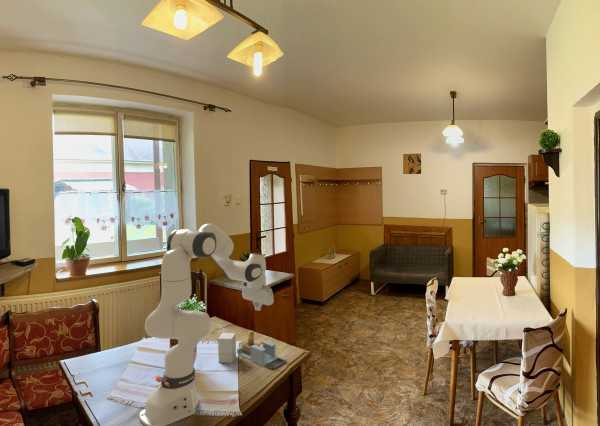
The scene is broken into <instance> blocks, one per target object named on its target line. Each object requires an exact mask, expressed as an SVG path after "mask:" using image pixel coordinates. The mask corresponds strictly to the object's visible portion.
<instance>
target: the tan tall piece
mask: <svg viewBox="0 0 600 426" xmlns="http://www.w3.org/2000/svg"><path fill="white" fill-rule="evenodd" d="M260 344H261V343H260ZM260 344H259V343H256V342H255V331H254V330H248V332H247V342H245V343H243V344H242V346H241V347H242V351H243V352H244V353H246V354H248V355H250V356H251V346H252V345H257V346H260V347H261V345H260Z"/></svg>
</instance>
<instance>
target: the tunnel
mask: <svg viewBox="0 0 600 426" xmlns="http://www.w3.org/2000/svg"><path fill="white" fill-rule="evenodd" d="M260 344H262V346H261V345H260V346H257V345H252V346H251V356H250V355H248V354H246V353H244V352H243V351H242V346H241V347H239V348H236V354H237V355H238V356H241V357H242V358H244V359H247V360H249V361H252V362H254V363H256V364H258V365H261V366H263V367H265V368H267V369H268V370H271V371H274V370H276V369H277V368H279V367H280V366H283V365H284V364H286V363H287V360H285V359H283V358H281V357H279V356H276V355H277V354H276V352H277V350H276V347H277V346H276V343H274V342H271V341H268V340H266V339H263V340H261V341H260Z"/></svg>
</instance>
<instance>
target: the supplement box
mask: <svg viewBox="0 0 600 426" xmlns="http://www.w3.org/2000/svg"><path fill="white" fill-rule="evenodd" d="M236 339H237V338H236V333H234V332H231V333H230V332H221V334H220V335H219V337H218V338H217V346H218V347H217V348H218V349H217V351H218V352H217V353H218V363H224V364H225V363H226V364H233V363H234V362H235V360H236V357H237V348H236V347H237V344H236Z"/></svg>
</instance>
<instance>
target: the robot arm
mask: <svg viewBox="0 0 600 426" xmlns="http://www.w3.org/2000/svg"><path fill="white" fill-rule="evenodd" d="M234 247H235V246H234V242H233V240H232V239H231V237H230V236H229V235H228V234H227V233H226V232H225V231H223V230H222V228H220V227H218V226H217V225H215V224H213V223H210V222H209V223H205V224H203V225H201V226H200V228H198V230H196V229H189V228H186V229H184V228H179V229H175V230H174V229H173V231H171V232H170V234H169V235H168V237H167V240H166V250H167V251H166V252H165V253H164V254H163V256H162V260H161V269H160V271H161V273H160V276H161V277H160V278H161V292H160V293H161V297H160V301H159V304H158V306H157V307H156V308H155V310H153V311H152V312H151V313H149V315H148V316H147V318H146V319H145V322H144V329H145V332H146V334H147V336H148V337H152V338H156V339H160V340H161V339H163V340H168V339H169V340H177V344H175V345H173V346H172V347H170V348H169V349H168V350H166V352H165V355H164V373H163V376H161V375H157V376H156V377H155V381H156V382H158V383H160V384H159V385H158V386H157V388H156V389H155V390H154V391H153V392H152V393H151V395H149V396H148V397H147V399H146V401H145V408H144V409H143V410H142V409H141V411H139V415H138V416H139V417H138V418H139V420H140V422H141V423H142V424H143V425H144V426H169V425H170V424H174V423H176V422H178V421H181V420H184V419H185V418H187V417H190V416H192V415H195V414H196V413H197V411H196V410H197V407H198V405H199V402H200V400H199V398H198V395H197V390H196V384H195V383H196V382H195V380H196V369H195V365H194V362H195V351H196V348H197V345H198V344H199V342H200V341H201V340H202V339H204V338H206V337H207V335H208V333H209V332H210V330H211V326H212V321H211V318H210V315H209V314H208V313H207V312H204V311H199V310H190V309H189V310H186V309H185V310H183V309H179V305H180V304H183V303H185V302H186V301H188V300H189V298H191V295H192V274H191V271H192V270H191V265H190V264H191V261H192V258H198V259H206V258H210V257H211V258H212V260H213V261H214V262H215V264H216V265H218V267H219V268H220V269H221V271H222V273H223V276H224V278H226V279H227V280H228V281H240V282H242V283H241V285H242V287H241V296H242V298H243V299H244V300H247V301H251V302H252V304H253V307H254V311H257V312H260V311H261V309H262V306H263V305H265V306H271V305H273V304H274V302H275V301H274V293H273V289H272V288H271V286H267V277H266V271H267V266H266V265H267V264H266V257H265V254H262V253H257V252H256V253H255V252H252V253H250V254H249V258H248V259H247V260H245V261H241V260H234V259H231V258H229V257H230V256H231V255H232V253H233V252H234Z"/></svg>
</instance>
